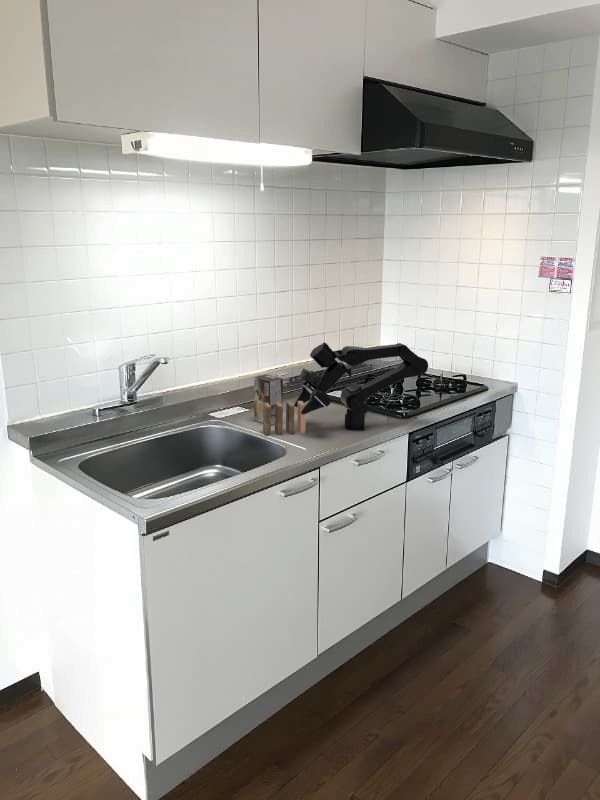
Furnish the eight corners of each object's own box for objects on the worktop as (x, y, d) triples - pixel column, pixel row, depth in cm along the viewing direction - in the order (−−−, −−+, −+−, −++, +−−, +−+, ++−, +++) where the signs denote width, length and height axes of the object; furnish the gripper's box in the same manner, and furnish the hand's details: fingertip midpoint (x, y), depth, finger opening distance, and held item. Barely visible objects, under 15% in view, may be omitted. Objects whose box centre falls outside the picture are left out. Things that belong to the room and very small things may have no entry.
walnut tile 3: (279, 430, 225) (279, 402, 223) (282, 434, 221) (282, 406, 218) (274, 430, 225) (274, 402, 222) (277, 435, 220) (278, 406, 218)
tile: (301, 428, 227) (302, 400, 225) (305, 433, 223) (305, 404, 220) (297, 429, 227) (297, 401, 224) (300, 433, 222) (301, 404, 220)
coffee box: (283, 422, 234) (284, 378, 230) (270, 426, 230) (270, 381, 226) (266, 416, 241) (266, 373, 236) (253, 420, 236) (253, 376, 232)
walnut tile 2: (290, 429, 226) (290, 401, 224) (294, 434, 222) (294, 405, 219) (285, 429, 226) (286, 401, 223) (289, 434, 221) (289, 405, 219)
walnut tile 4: (267, 431, 224) (267, 402, 222) (270, 435, 220) (270, 406, 217) (263, 431, 224) (263, 403, 221) (266, 435, 219) (266, 406, 217)
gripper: (307, 355, 228) (275, 387, 228) (322, 366, 211) (288, 401, 211) (328, 376, 232) (297, 408, 232) (344, 389, 215) (311, 423, 215)
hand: (298, 409), depth 222 cm, fingers open, 9 cm apart
